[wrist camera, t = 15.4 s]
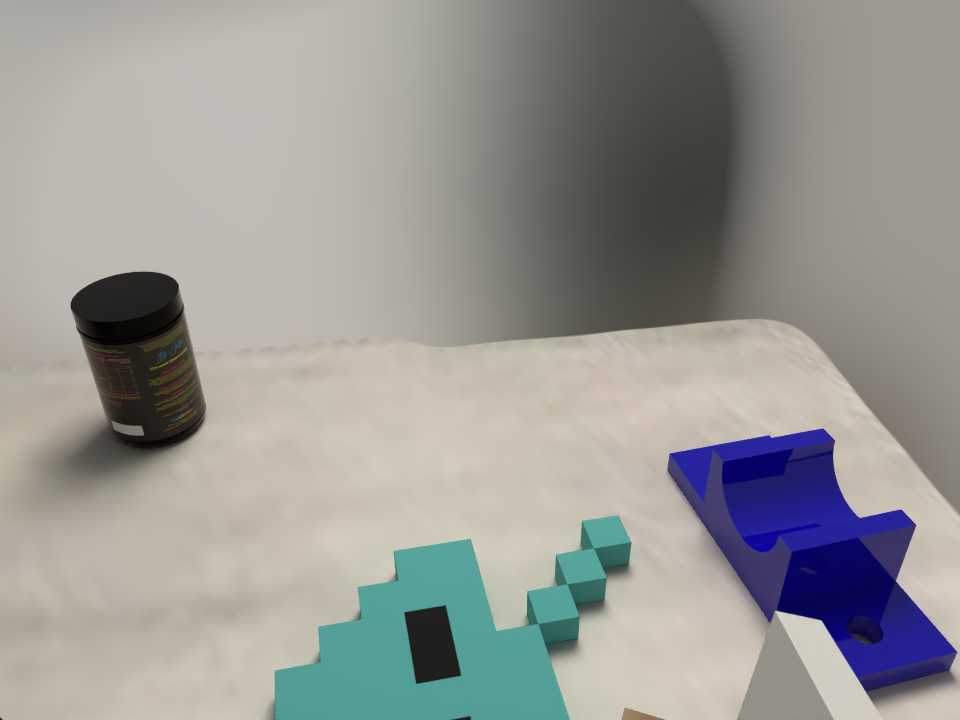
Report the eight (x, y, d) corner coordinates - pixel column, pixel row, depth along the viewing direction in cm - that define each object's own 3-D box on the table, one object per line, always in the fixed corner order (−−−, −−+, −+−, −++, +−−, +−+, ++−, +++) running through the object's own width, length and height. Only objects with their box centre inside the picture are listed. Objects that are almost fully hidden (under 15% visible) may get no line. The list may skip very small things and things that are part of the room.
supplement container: (224, 399, 64) (197, 275, 58) (182, 457, 58) (147, 326, 53) (141, 390, 65) (106, 267, 59) (91, 446, 60) (47, 317, 54)
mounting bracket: (666, 474, 57) (677, 401, 54) (764, 456, 58) (780, 383, 55) (821, 707, 42) (849, 626, 39) (947, 674, 44) (983, 594, 41)
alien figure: (615, 542, 52) (279, 597, 49) (618, 515, 51) (273, 570, 48) (775, 885, 36) (286, 1003, 32) (785, 857, 34) (277, 977, 31)
